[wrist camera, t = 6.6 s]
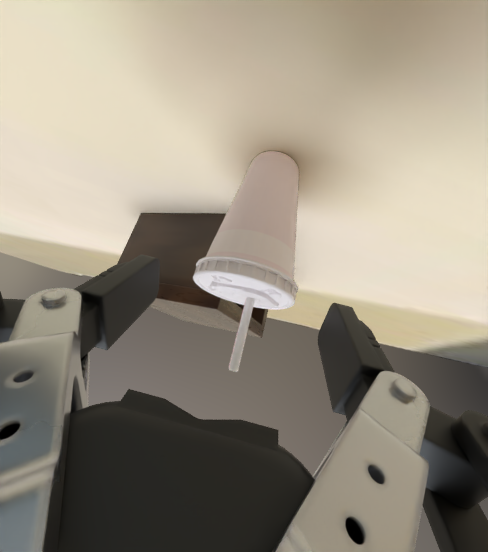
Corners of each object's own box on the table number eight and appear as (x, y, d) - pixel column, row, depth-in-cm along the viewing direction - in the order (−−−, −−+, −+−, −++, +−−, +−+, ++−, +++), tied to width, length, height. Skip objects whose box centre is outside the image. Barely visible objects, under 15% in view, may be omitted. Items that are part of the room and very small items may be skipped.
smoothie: (292, 210, 21) (258, 373, 16) (225, 183, 19) (168, 351, 15) (338, 157, 15) (304, 393, 10) (245, 114, 14) (160, 358, 9)
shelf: (245, 213, 23) (217, 309, 20) (275, 275, 37) (262, 338, 34) (140, 213, 28) (105, 288, 25) (201, 267, 42) (184, 320, 39)
